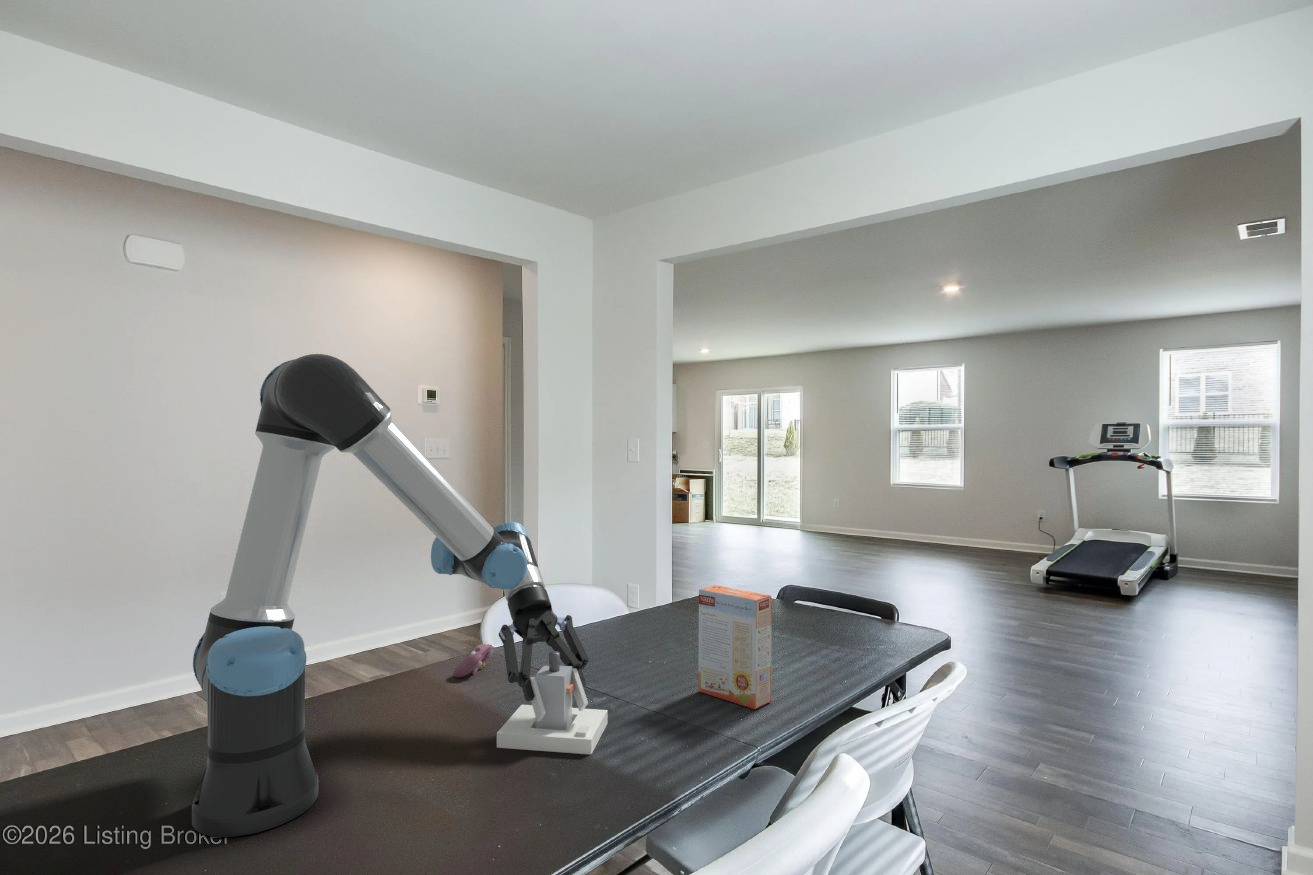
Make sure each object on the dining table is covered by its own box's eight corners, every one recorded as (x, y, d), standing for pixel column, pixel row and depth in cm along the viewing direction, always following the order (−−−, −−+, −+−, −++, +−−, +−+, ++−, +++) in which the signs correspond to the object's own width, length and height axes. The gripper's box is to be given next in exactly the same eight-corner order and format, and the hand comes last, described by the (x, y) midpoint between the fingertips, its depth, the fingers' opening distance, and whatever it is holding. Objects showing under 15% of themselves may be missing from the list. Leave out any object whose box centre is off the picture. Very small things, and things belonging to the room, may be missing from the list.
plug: (535, 733, 115) (535, 656, 115) (544, 721, 120) (544, 647, 120) (567, 735, 114) (568, 658, 114) (575, 723, 119) (576, 649, 119)
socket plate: (496, 747, 113) (496, 729, 113) (521, 717, 125) (521, 701, 124) (591, 754, 110) (591, 735, 110) (607, 723, 122) (607, 706, 122)
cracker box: (772, 702, 132) (773, 594, 132) (754, 711, 128) (755, 599, 128) (715, 683, 142) (716, 583, 142) (697, 691, 137) (697, 587, 137)
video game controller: (468, 686, 144) (482, 658, 143) (450, 675, 145) (464, 647, 144) (488, 670, 154) (501, 643, 153) (471, 660, 154) (484, 633, 154)
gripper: (569, 600, 136) (607, 709, 122) (469, 614, 125) (499, 735, 111) (581, 578, 131) (622, 689, 118) (478, 590, 120) (511, 714, 107)
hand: (562, 711), depth 114 cm, fingers closed on plug, 7 cm apart
